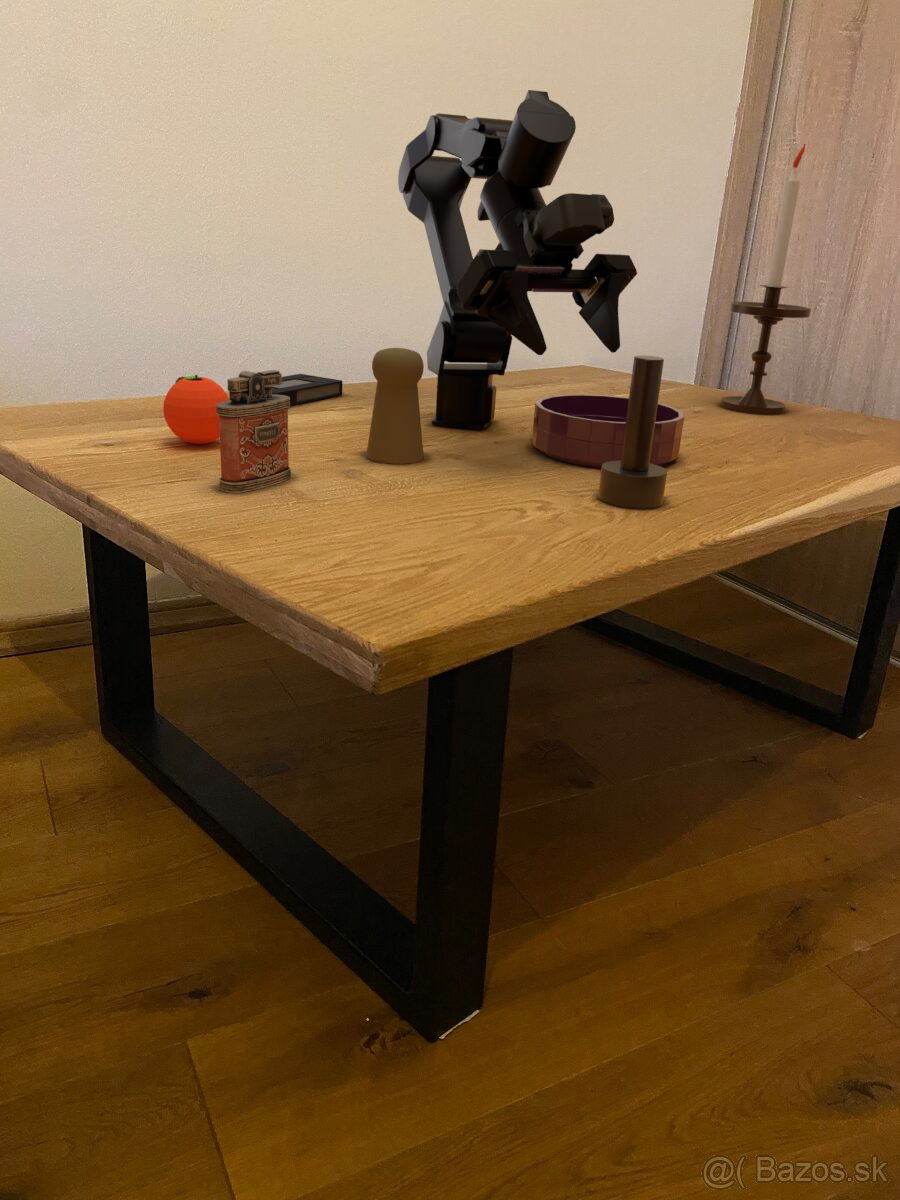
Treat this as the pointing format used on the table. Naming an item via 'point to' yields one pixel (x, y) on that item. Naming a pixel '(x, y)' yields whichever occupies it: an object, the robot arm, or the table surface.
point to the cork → (396, 408)
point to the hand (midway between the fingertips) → (580, 351)
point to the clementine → (194, 409)
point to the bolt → (637, 445)
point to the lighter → (253, 433)
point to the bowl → (598, 429)
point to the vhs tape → (307, 388)
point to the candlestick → (770, 307)
